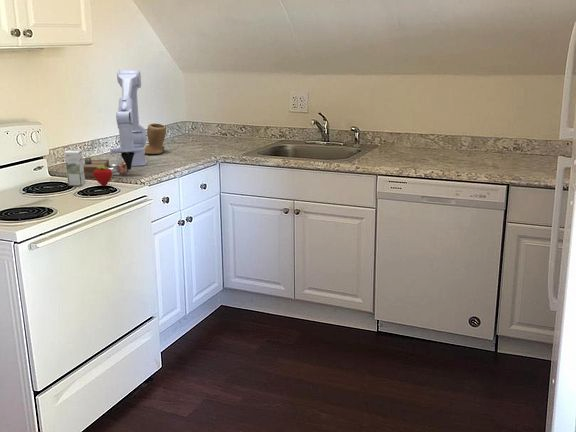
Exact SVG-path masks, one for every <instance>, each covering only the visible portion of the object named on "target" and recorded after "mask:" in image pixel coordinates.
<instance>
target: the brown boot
mask: <svg viewBox="0 0 576 432" xmlns="http://www.w3.org/2000/svg"><path fill="white" fill-rule="evenodd" d="M166 134H167V126H166V125H164V124H161V123H155V122H153V123H149V124H148V125H147V130H146V138H147V141H148V145H147V146H146V147H144V148H145V154H148V155H157V154H158V155H159V154H163V153H164V151H165V149H166V147H165V146H164V141H165V138H166Z"/></svg>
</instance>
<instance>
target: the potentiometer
mask: <svg viewBox="0 0 576 432" xmlns="http://www.w3.org/2000/svg"><path fill="white" fill-rule="evenodd" d="M91 160H92V159H91V157H90V155H89V154H88V155H87V154H86V155H85V158H84V164H92V162H91Z"/></svg>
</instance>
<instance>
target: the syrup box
mask: <svg viewBox="0 0 576 432" xmlns="http://www.w3.org/2000/svg"><path fill="white" fill-rule="evenodd" d="M83 157H84V156H83V150H82V149H80V148H79V149H66V150H65V151H64V159H65V160H64V161H65V167H66V168H65V169H66V176H67V184H68V186H69V187H78V186H80V187H82V186H83V185H85V184H86V179H85V176H84V167H83V165H84V160H83V159H84V158H83Z"/></svg>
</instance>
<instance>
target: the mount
mask: <svg viewBox="0 0 576 432" xmlns="http://www.w3.org/2000/svg"><path fill="white" fill-rule="evenodd" d="M91 162H92V164H85V163H83V167H84V176H85V180H86V179H87V180H88V179H95V178H94V175H93V172H94V171H95V170H97V169H99V168H97V167H102V166H103V165H104V167H107V164H110V160H109V159H91ZM102 162H103V163H102Z"/></svg>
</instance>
